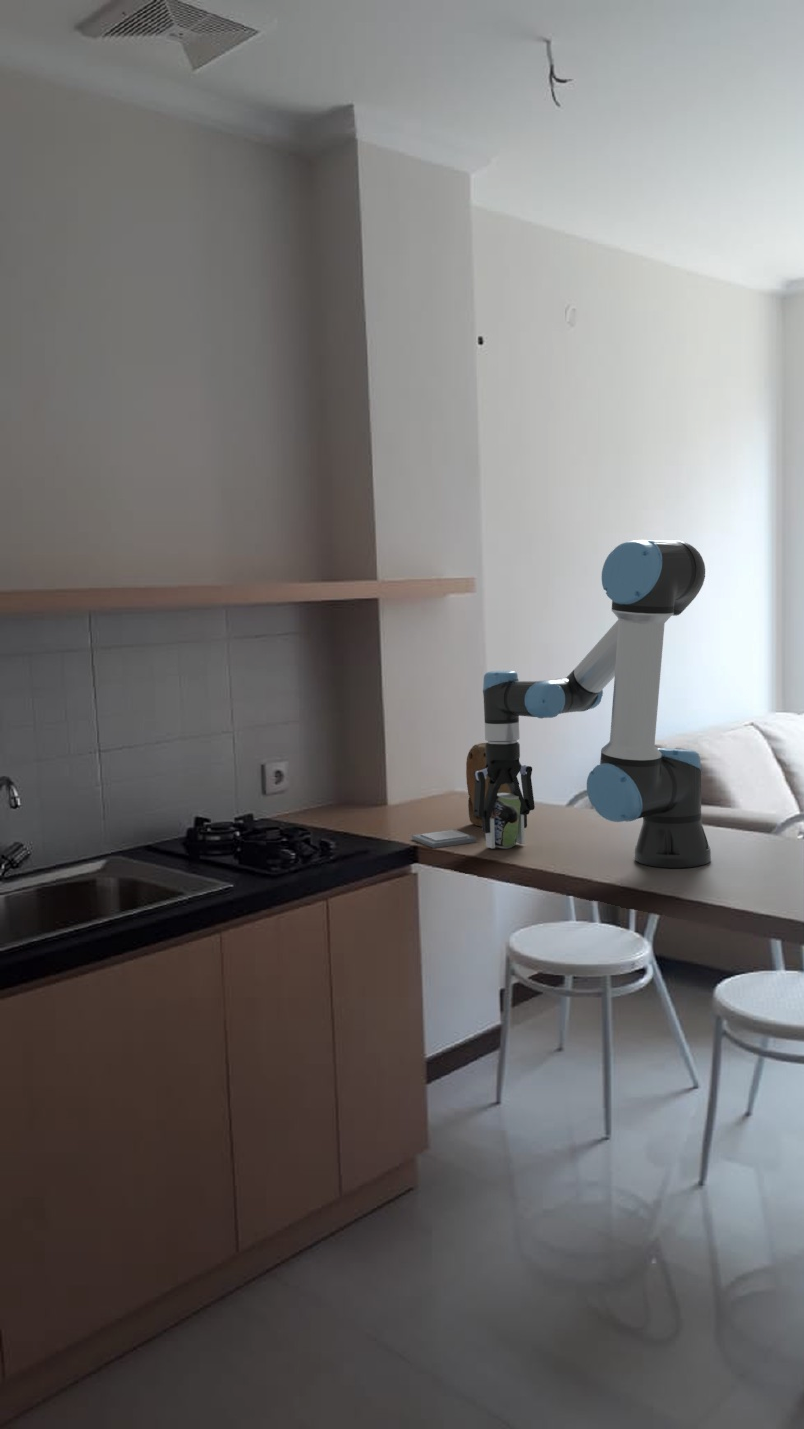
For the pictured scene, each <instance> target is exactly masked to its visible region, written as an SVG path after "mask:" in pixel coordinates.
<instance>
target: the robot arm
mask: <svg viewBox="0 0 804 1429" xmlns="http://www.w3.org/2000/svg"><path fill="white" fill-rule="evenodd" d="M705 578H706V566H705V561H704V559H703V556H702V555H701V553H700V551H698V550H697V548H696V547H694V546H693V545H691V544H689V543H688V542H685V541H682V540H676V539H675V540H674V539H673V540H671V539H670V540H655V539H654V540H651V539H649V540H647V539H636V540H629V541H625V542H623V543H620V544H619V545H617V546H615V547H614V549H612V550H611V551H610V553H609V554H608V555H607V557H606V559H605V561H604V563H603V566H602V570H601V585H602V588H603V591H604V590H605V594H606V596H607V598H609V599H610V600H611V612H612V613H613V614H614V616H616V617H617V621H615V622H614V623H613V625H612V626H611V627H610V629H609V630H607V631H606V633H605V634H604V635H603V636H602V637H601V638H600V639H599V640H598V642H597V643H596V644H595V645H594V646H593V647H592V648H591V650H590V651H589V652H588V653H587V655H585V656H584V658H582V660H581V661H580V662H579V664H577V666H575V668H574V669H573V670H572V671H571V672H570V673H569V675H567V676H565V677H563V678H556V679H546V680H536V681H535V680H534V681H531V680H527V681H525V680H523V681H522V680H520V679H519V677H518V673H517V672H516V671H514V670H494V671H487V672H485V674H484V675H483V688H482V689H483V690H482V694H483V712H484V714H483V715H484V740H485V741H486V742H485V743H486V744H485V756H486V762H487V763H486V766H485V769H483V770H480V771H474V778H475V796H474V812H473V813H474V815H476V816H479V817H481V818H482V827H481V828H482V829H481V830H482V833H484V834H485V847H488V848H490V849H496V847H495V830H494V819H493V818H491V814H492V811H493V807H494V804H495V800H496V796H497V793H498V790H499V789H500V786H501V785H503V784H505V783H507V785H508V786H509V788H510V791H511V794H514V795H516V796H519V800H520V802H521V806H520V814H519V823H518V831H517V839H516V844H520V845H525V844H526V843H525V839H526V838H525V829H527V827H528V817H527V816H528V815H529V814H530V811H534V810H535V807H536V806H535V799H534V790H533V782H532V774H533V767H532V766H530V765H526V764H525V765H522V764H521V762H520V757H521V754H520V753H521V747H520V742H519V740H520V717H519V716H521V717H529V718H531V717H532V718H538V719H551V718H556V717H557V716H559V715H561V714H566V713H567V714H568V713H575V712H586V711H588V710H592V709H595V708H596V707H598V706H599V704H601V702H602V697H603V694H604V692H603V689H605V687H606V686H607V685H608V684H609V683H610V682H611V681H612V680H613V679H614V681H613V694H612V707H611V708H612V709H611V720H610V721H611V722H610V734H609V735H610V737H609V742H608V743H607V744H606V745H604V746H603V747H602V748H601V750H600V760H599V761H600V762H599V764H598V765H595V767H593V769H592V770H591V771H590V772H589V774H588V776H587V778H586V779H587V780H586V792H587V796H588V800H589V801H590V802H589V803H590V804H591V806H592V807H593V808H594V809H595V811H596V812H597V814H598V815H599V816H600V817H602V818H603V819H605V820H607V821H610V822H614V823H623V822H627V823H628V822H633V821H636V820H638V819H642V823H641V824H642V825H641V829H640V831H639V833H638V834H639V835H638V839H637V843H636V845H635V847H634V860H635V861H636V862H637V863H639V864H641V865H645V866H649V867H655V868H656V867H657V868H667V869H668V868H671V869H672V868H673V869H677V868H680V869H681V868H693V867H699V866H703V865H707V864H709V863H710V862H711V860H712V858H711V856H712V855H711V854H712V852H711V848H710V846H709V841H708V839H707V835H706V833H705V830H704V827H703V824H702V772H703V771H702V770H703V769H702V767H701V765H702V764H701V756H700V754H699V753H698V752H697V751H695V750H692V749H691V750H690V749H681V748H669V747H656V745H655V744H656V732H657V731H656V730H657V721H658V718H657V717H658V708H659V695H660V683H661V682H660V681H661V673H662V672H661V670H662V657H663V646H664V633H665V623H666V622H667V621H668V620H669V619H670V618H671V617H673V616H674V617H678V616H679V615H681V613H683V612H684V611H685V610H686V609H687V607H688V606H690V604H692V602H693V601H694V600H695V598H696V597H697V596H698V594H699V592H700V591H701V589H702V588H703V585H704V582H705ZM518 774H520V781H521V782H520V781H519V779H518ZM486 775H488V776H489V778H490V779H489V782H488V790H487V794H486V797H485V785H486V783H485V779H486V778H487V777H486ZM494 783H495V784H494ZM520 783H521V786H520ZM521 788H522V791H521Z"/></svg>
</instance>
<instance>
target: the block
mask: <svg viewBox="0 0 804 1429" xmlns="http://www.w3.org/2000/svg"><path fill="white" fill-rule="evenodd" d="M486 743H487V742H480V743H478V744H477V743H476V744H474V745H472V747H471V748H470V749H469V751H468V754H467V756H466V763H465V764H466V765H465V768H466V769H465V772H466V773H465V775H466V776H465V777H466V787H467V789H466V790H467V794H468V804H467V805H468V818H469V822H470V823H471V824H473V825H475V826H479V827H481V828H482V818H481V817H479V816H476V815H474V813H473V812H474V796H475V778H474V771H480V770H483V769H485V766H486V763H487V762H486V756H485V744H486ZM486 777H487V778H486V779H485V783H486V785H485V797H486V794H487V790H488V782H489V779H490V778H489V776H488V775H486ZM494 784H495V783H494ZM498 793H511V791H510V788H509V786H508V785H507V783H505V784H503V785H501V786H500V789H499V790H498ZM491 816H492V814H491Z"/></svg>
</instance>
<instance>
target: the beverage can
mask: <svg viewBox="0 0 804 1429" xmlns="http://www.w3.org/2000/svg"><path fill="white" fill-rule="evenodd" d="M520 806H521V802H520V800H519V796H516V795H514V794H511V793H497V796H496V800H495V804H494V807H493V811H492V816H491V818H493V819H494V830H495V848H499V849H512V848H513V846H514V847H515V845H517V842H516V839H517V831H518V823H519V814H520Z"/></svg>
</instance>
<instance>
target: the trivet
mask: <svg viewBox="0 0 804 1429" xmlns="http://www.w3.org/2000/svg"><path fill="white" fill-rule="evenodd" d="M411 840H413V841H415V842H418V843H421V844H422V845H425V846H428V847H429V848H432V849H435V848H444V847H451V846H457V845H465V844H472V843H477V842H478V840H477V837H476V836H474V835H471V834H468V833H465V832H462V831H459V830H456V829H450V830H440V831H434V832H433V831H432V832H425V833H419V834H412V835H411Z"/></svg>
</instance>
